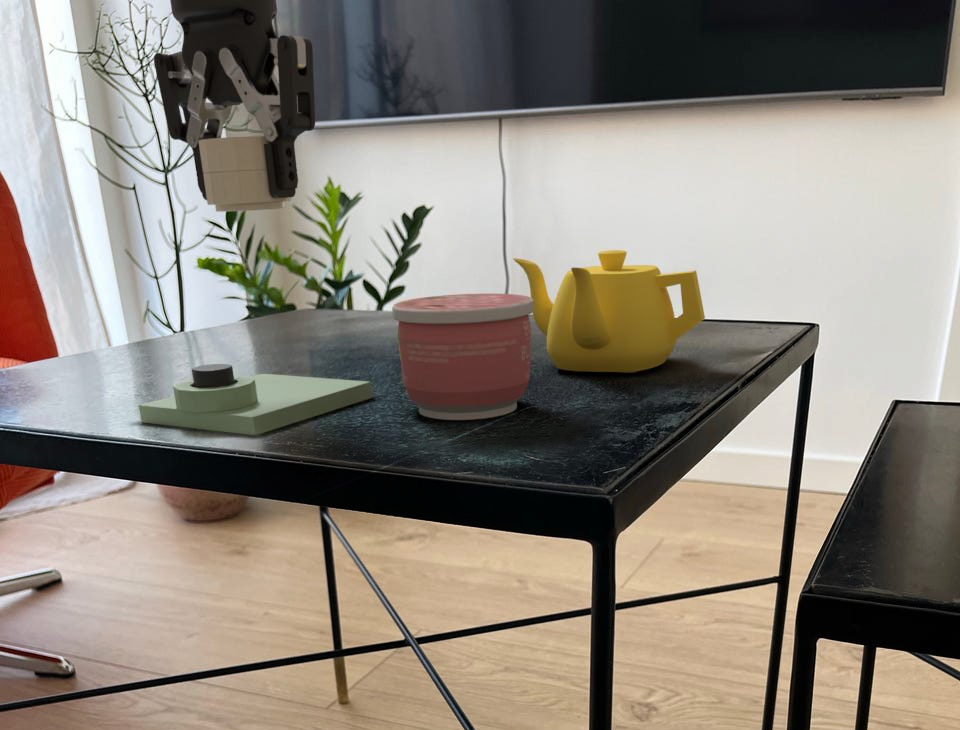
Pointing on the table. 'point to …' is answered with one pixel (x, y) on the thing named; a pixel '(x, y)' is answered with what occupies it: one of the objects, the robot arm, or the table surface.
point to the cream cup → (237, 174)
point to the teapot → (613, 314)
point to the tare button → (213, 375)
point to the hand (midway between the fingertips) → (249, 198)
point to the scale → (254, 403)
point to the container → (465, 353)
